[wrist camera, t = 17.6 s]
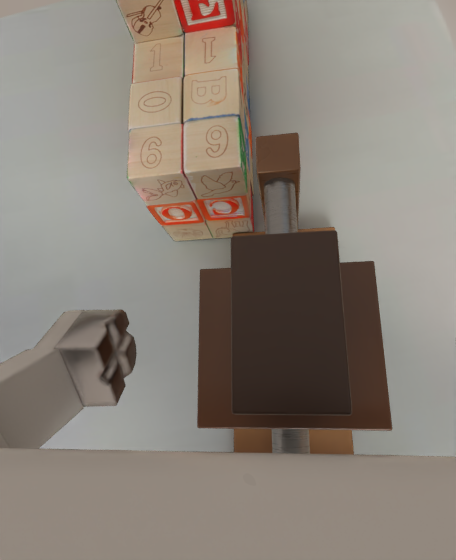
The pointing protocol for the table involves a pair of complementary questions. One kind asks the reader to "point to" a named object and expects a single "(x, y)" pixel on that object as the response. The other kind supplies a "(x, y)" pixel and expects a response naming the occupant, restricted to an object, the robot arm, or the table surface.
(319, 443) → the rail
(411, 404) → the table surface
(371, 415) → the brown stepped block
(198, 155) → the stack of blocks
